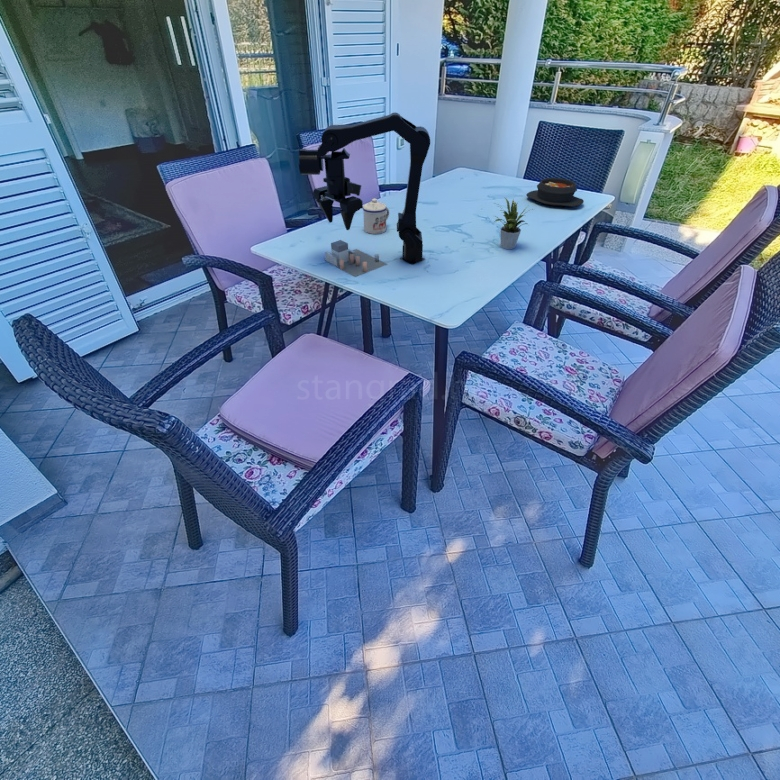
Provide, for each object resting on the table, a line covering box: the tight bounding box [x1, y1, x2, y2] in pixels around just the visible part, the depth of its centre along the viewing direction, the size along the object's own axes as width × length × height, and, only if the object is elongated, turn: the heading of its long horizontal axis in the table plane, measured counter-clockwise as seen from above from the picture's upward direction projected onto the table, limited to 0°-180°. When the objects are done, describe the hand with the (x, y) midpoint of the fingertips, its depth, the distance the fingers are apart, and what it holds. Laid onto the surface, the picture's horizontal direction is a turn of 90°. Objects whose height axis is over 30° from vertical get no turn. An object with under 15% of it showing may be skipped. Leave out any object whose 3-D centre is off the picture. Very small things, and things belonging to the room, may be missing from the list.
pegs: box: [339, 254, 380, 273], centre depth 147 cm, size 9×14×3 cm, turn 132°
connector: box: [330, 239, 349, 264], centre depth 149 cm, size 4×4×6 cm
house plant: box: [493, 197, 534, 250], centre depth 157 cm, size 14×14×16 cm
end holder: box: [324, 248, 355, 268], centre depth 150 cm, size 7×8×3 cm
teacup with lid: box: [362, 198, 390, 235], centre depth 171 cm, size 12×9×12 cm
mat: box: [324, 248, 388, 278], centre depth 150 cm, size 17×14×1 cm
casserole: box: [526, 177, 584, 207], centre depth 196 cm, size 25×19×8 cm
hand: (339, 226), depth 145 cm, fingers open, 9 cm apart
